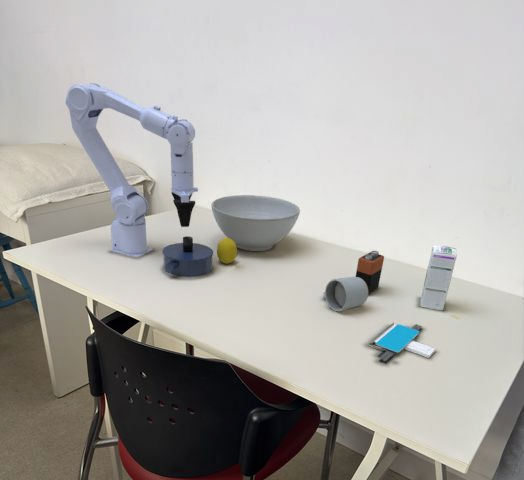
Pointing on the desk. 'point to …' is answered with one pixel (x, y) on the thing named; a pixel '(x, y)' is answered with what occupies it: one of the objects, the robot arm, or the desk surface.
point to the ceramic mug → (346, 293)
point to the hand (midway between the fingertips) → (183, 222)
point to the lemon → (226, 250)
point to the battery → (370, 269)
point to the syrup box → (438, 277)
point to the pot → (187, 267)
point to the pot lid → (187, 251)
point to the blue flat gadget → (399, 342)
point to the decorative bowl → (254, 220)
